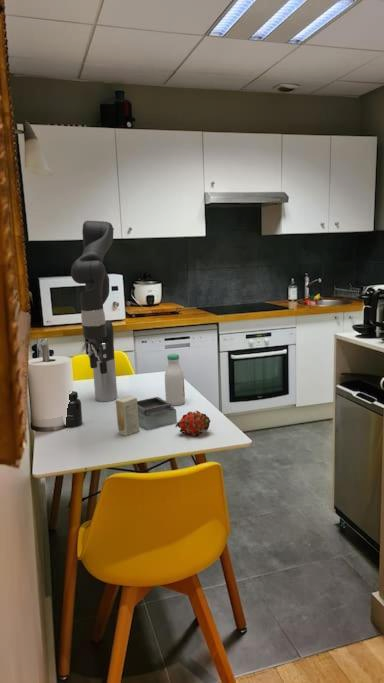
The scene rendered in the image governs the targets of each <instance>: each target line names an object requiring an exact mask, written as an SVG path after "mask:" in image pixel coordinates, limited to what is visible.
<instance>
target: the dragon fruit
mask: <svg viewBox="0 0 384 683" xmlns="http://www.w3.org/2000/svg"><path fill="white" fill-rule="evenodd" d="M210 423H211V419H210V417H209V416H207V414H206V413H201V412H200V411H198V410H195V411H193V412H192V411H188V412H187V414H183V415H182V417H181V418H180V420H179V421H178V422H177V423H175V424H176V425H175V428H177V427H178V428H179V432H180V433H182V434H187V435H191V434H192V436H193V437H195V436H196V435H201V434H202V433H203V431H204V432H205V431H206V432H207V431H208V430H209V428H210Z"/></svg>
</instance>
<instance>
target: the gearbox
mask: <svg viewBox="0 0 384 683" xmlns="http://www.w3.org/2000/svg"><path fill="white" fill-rule="evenodd" d="M137 406H138V419H139V427H141V428H143V429H144V430H146V431H150V430H153V429H157V428H161V427H164V426H165V427H166V426H169V425H172V424H177V423H178V422H177V421H178V420H177V418H178V417H177V409H176V408H175V407H174V406H172V405H171V404H170V403H168V402H166V400H164V399H162V398H160V397H158V396H155V397H151V398H144V399H141V400H137Z"/></svg>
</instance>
